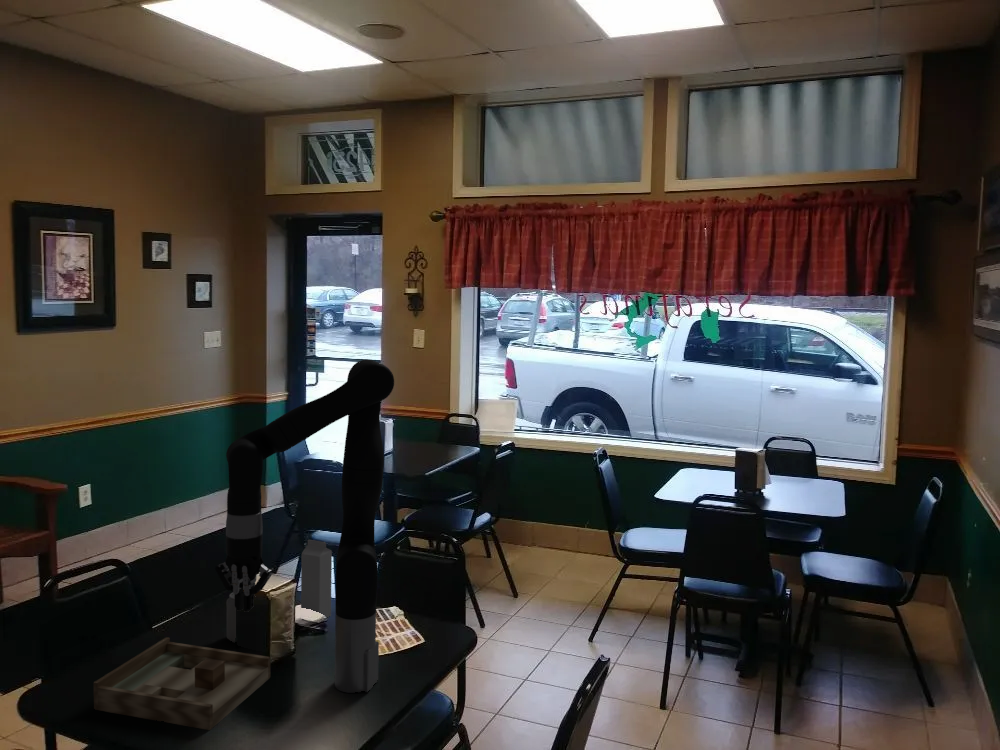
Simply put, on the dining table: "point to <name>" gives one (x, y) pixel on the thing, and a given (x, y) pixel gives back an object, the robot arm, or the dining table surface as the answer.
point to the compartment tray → (179, 685)
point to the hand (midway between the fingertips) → (244, 609)
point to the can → (231, 618)
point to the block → (209, 674)
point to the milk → (316, 577)
